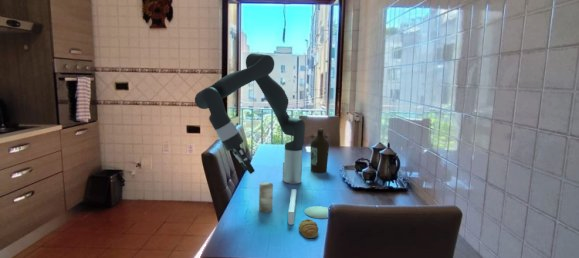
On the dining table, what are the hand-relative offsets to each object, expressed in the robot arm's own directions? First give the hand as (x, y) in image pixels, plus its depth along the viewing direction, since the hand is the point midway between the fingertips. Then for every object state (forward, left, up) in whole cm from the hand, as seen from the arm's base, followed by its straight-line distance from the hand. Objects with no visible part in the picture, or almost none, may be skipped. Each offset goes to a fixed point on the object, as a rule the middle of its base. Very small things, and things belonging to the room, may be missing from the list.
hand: (250, 171), depth 142 cm
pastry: (+27, +7, -18) cm, 33 cm away
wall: (+9, +15, -18) cm, 25 cm away
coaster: (+17, +23, -18) cm, 33 cm away
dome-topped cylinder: (+1, +7, -18) cm, 19 cm away
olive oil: (-27, +69, -18) cm, 76 cm away
